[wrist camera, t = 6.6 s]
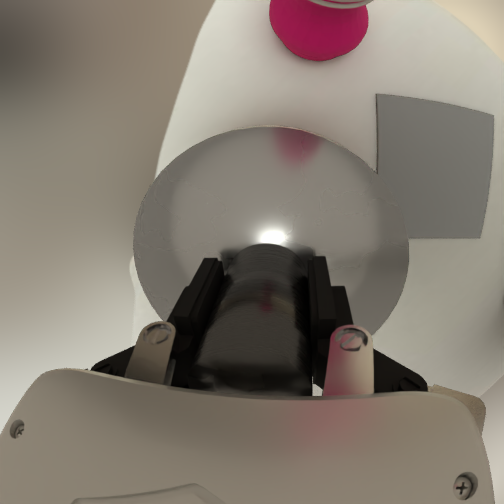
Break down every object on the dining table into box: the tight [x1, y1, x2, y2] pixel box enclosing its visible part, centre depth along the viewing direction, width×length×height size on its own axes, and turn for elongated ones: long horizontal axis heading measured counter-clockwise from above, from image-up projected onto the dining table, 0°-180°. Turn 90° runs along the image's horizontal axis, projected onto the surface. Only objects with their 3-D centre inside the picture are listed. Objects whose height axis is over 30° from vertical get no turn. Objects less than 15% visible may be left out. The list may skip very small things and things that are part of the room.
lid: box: [133, 126, 409, 396], centre depth 11 cm, size 13×13×7 cm
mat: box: [376, 94, 494, 238], centre depth 22 cm, size 14×14×1 cm
